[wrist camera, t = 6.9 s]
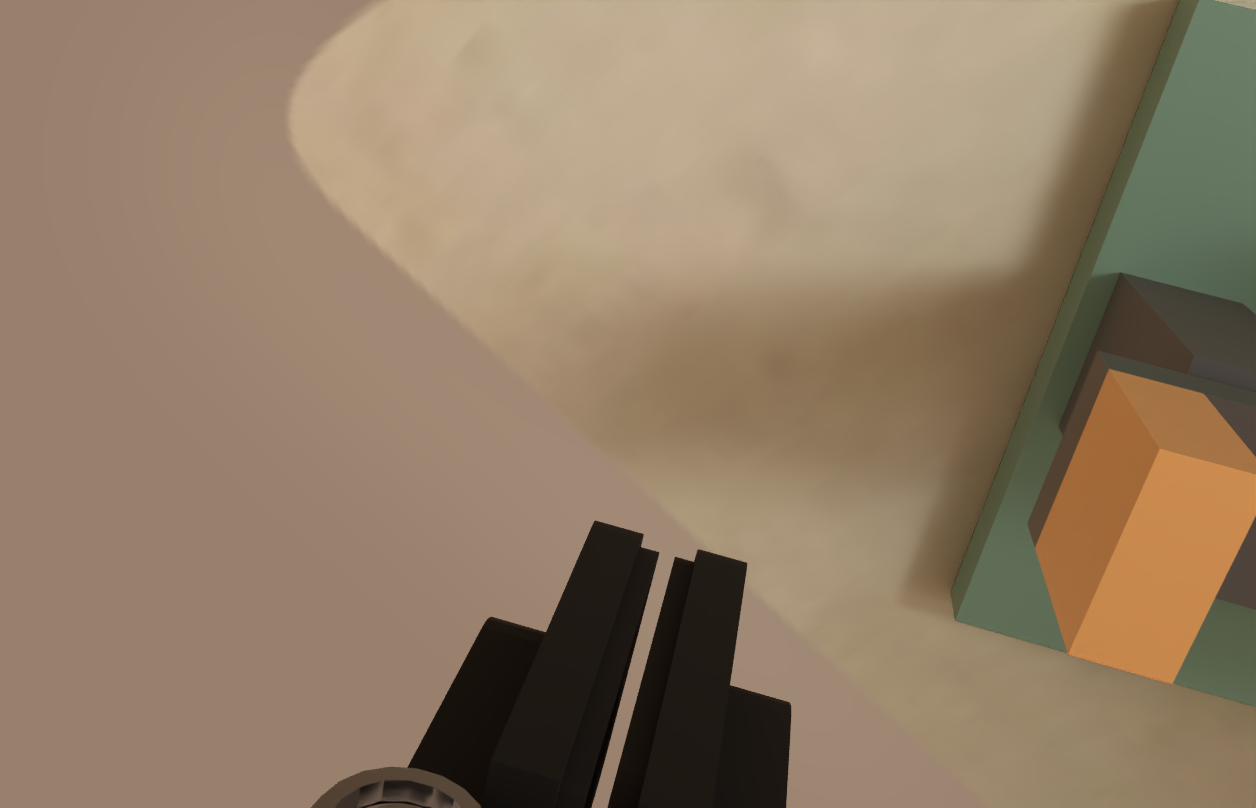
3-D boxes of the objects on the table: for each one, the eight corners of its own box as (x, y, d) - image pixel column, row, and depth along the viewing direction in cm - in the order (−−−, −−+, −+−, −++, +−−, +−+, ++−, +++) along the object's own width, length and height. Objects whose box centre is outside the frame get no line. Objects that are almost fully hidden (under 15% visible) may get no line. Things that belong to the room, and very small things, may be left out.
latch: (1348, 416, 20) (1478, 534, 16) (1260, 588, 21) (1358, 737, 17) (1097, 350, 20) (1159, 448, 16) (1026, 523, 22) (1068, 654, 17)
